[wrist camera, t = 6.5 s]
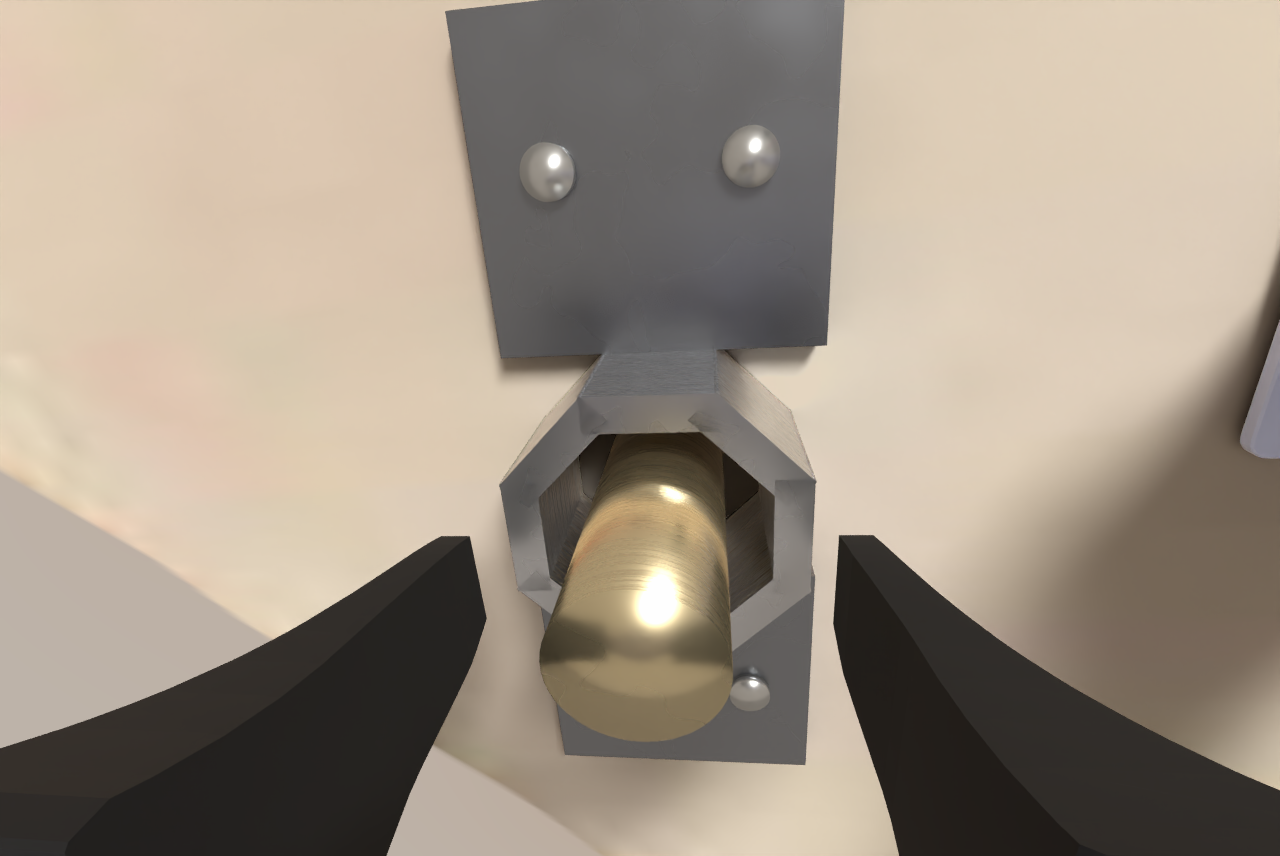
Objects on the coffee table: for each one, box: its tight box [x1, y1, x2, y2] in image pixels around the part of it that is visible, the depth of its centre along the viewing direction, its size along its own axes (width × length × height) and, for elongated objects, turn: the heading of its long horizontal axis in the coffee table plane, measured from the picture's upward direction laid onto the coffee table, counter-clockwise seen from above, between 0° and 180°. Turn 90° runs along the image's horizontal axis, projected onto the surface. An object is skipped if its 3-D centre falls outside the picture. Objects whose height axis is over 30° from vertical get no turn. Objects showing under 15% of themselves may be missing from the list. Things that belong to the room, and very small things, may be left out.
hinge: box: [445, 0, 844, 765], centre depth 15 cm, size 21×8×4 cm, turn 4°
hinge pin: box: [539, 432, 733, 742], centre depth 13 cm, size 3×3×8 cm
